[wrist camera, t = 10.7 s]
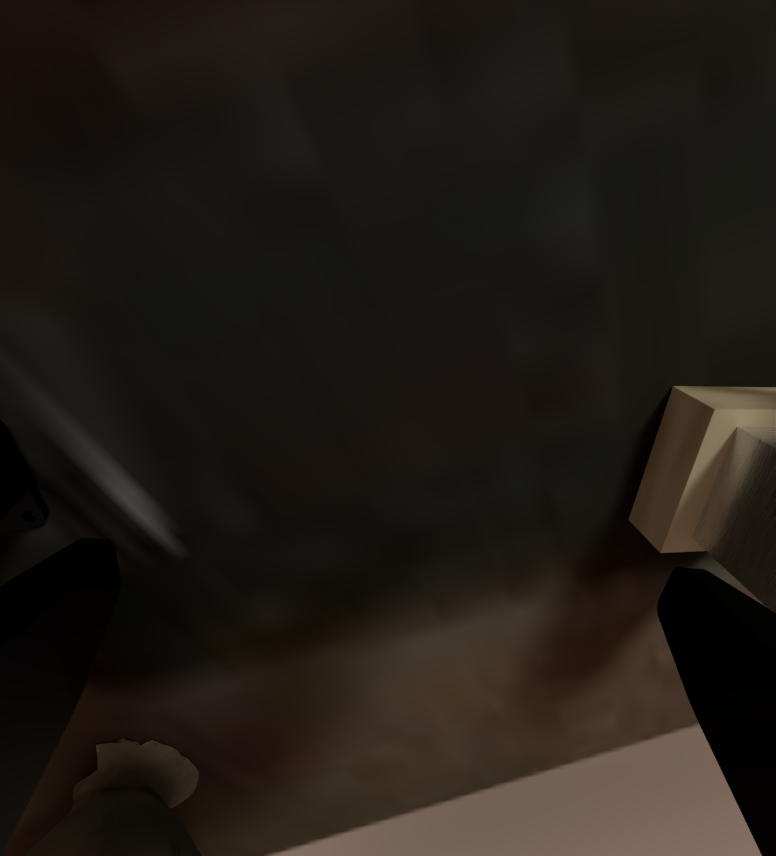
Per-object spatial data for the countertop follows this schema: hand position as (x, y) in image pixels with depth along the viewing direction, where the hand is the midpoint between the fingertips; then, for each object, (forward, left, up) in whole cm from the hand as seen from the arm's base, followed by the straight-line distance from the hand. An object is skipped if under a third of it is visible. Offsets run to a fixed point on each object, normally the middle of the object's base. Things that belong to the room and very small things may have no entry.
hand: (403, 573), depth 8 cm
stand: (+16, -8, -12) cm, 22 cm away
